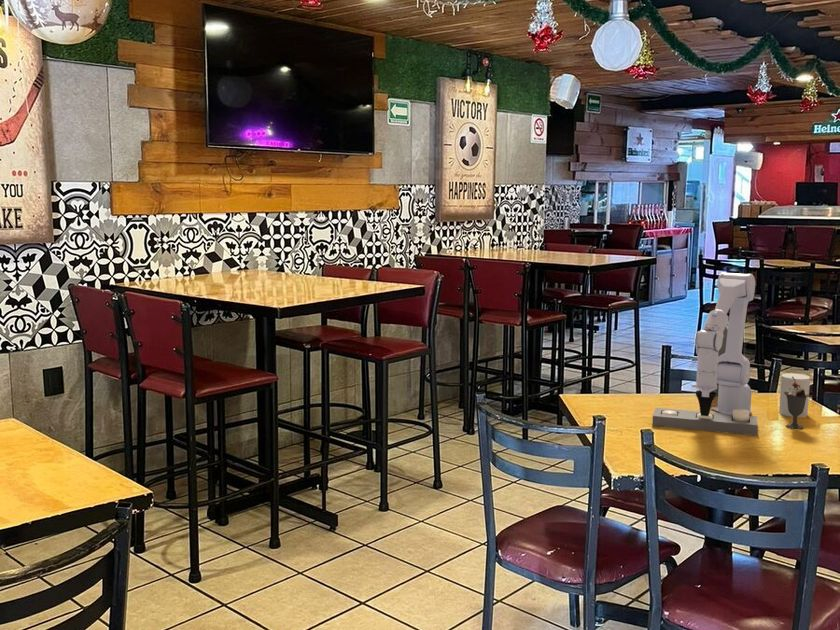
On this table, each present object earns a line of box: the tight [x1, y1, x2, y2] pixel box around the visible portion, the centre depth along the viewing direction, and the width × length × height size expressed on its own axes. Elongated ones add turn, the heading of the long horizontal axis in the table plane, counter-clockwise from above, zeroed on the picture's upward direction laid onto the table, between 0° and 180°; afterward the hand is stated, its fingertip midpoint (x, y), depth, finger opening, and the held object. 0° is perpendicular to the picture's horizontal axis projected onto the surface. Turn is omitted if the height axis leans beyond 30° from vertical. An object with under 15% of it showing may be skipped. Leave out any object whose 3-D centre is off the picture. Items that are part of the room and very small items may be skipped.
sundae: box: [784, 377, 810, 430], centre depth 245 cm, size 7×7×15 cm
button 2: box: [733, 409, 750, 422], centre depth 243 cm, size 4×4×3 cm
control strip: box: [652, 407, 759, 436], centre depth 247 cm, size 10×29×3 cm, turn 70°
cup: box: [778, 372, 811, 418], centre depth 260 cm, size 8×8×12 cm
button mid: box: [697, 413, 713, 419], centre depth 247 cm, size 4×4×3 cm
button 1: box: [662, 410, 677, 416], centre depth 251 cm, size 4×4×3 cm
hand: (704, 415), depth 247 cm, fingers closed, pressing on button mid
